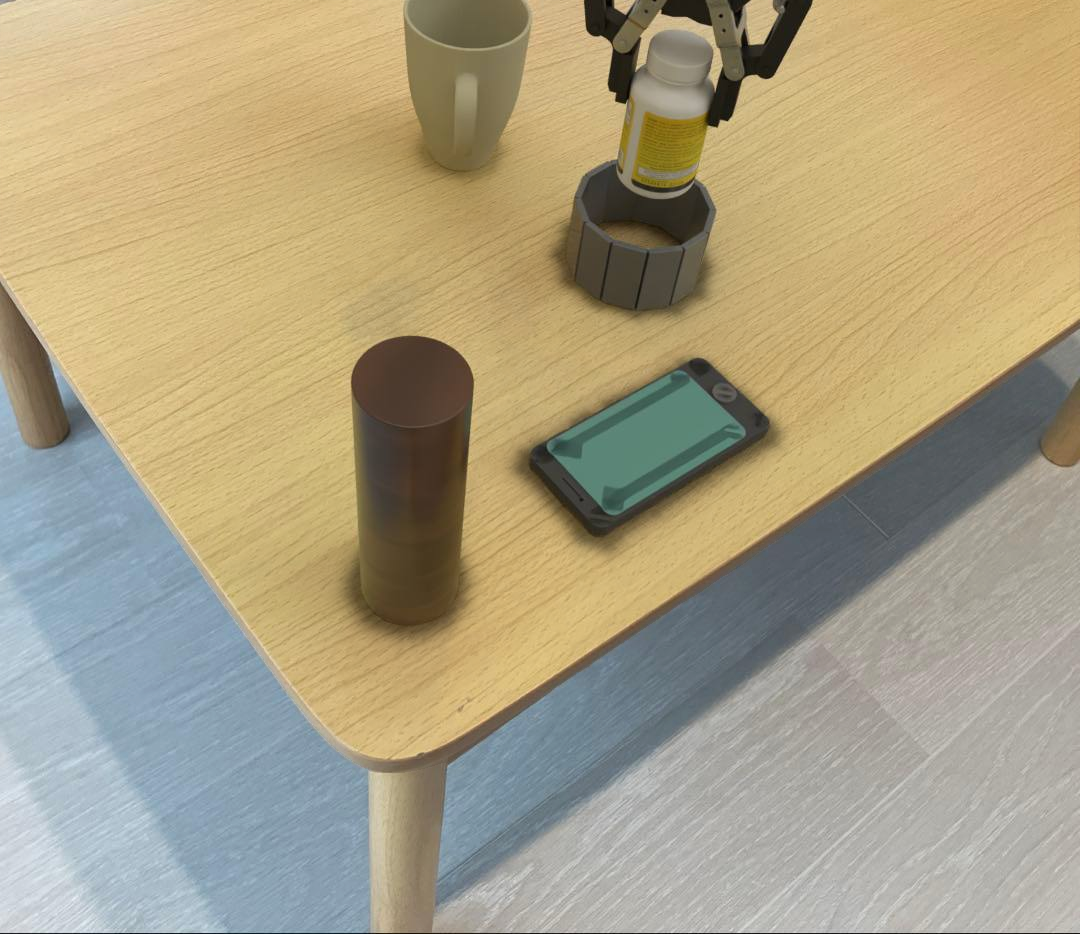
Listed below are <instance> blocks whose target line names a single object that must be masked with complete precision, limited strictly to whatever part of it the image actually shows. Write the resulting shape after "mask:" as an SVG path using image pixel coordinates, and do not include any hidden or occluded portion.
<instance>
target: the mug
mask: <svg viewBox="0 0 1080 934" xmlns="http://www.w3.org/2000/svg"><path fill="white" fill-rule="evenodd" d="M402 8H403V9H402V15H403V27H404V28H403V29H404V43H405V44H404V45H405V57H406V70H407V71H406V72H407V79H408V80H407V81H408V87H409V92H410V98H411V100H412V101H411V102H412V105H413V108H414V111H415V114H416V118H417V120H418V123H419V126H420V129H421V131H422V134H423V137H424V139H425V142H426V146H427V149H428V151H429V154H430V156H431V158H432V159H433V160H434V162H436V163H437V164H438V165H440V166H441V167H443V168H446V169H448V170H450V171H451V170H452V171H456V172H457V171H458V172H468V171H469V172H470V171H475V170H478V169H481V168H483V167H484V166H485V165H487V164H488V163H489V162H490V160H491V158H492V156H493V154H494V153H495V151H496V148H497V146H498V145H499V142H500V140H501V137H502V135H503V134H504V131H505V130H506V127H507V125H508V123H509V121H510V119H511V117H512V115H513V112H514V110H515V107H516V104H517V102H518V98H519V94H520V91H521V85H522V81H523V76H524V71H525V64H526V59H527V54H528V47H529V42H530V35H531V30H532V24H533V13H532V9H531V7H530V5H529V3H528V2H527V1H526V0H404V3H403V7H402Z"/></svg>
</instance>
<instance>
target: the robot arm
mask: <svg viewBox="0 0 1080 934" xmlns="http://www.w3.org/2000/svg"><path fill="white" fill-rule="evenodd" d="M751 1H752V0H634V1H633V3H632V4H631V6H630V7H629V9H628V11H627V12H626V13H624V12H622V11H620V10H619V9H617V8H615V7H616V5H615V0H583V8H584V19H585V20H584V21H585V22H584V23H585V30H586V32H587V33H588V34H589V36H591V37H595V38H598V37H602V38H603V39H606V41H608V43H610V45H611V47H612V52H611V59H610V66H609V71H608V77H607V88H608V91H609V93H614V94H615V98H614V102H615V103H619V104H622V105H627V102H628V96H629V90H630V85H631V81H632V78H633V75H634V74H635V72H636V71H637V66H638V60H639V59H638V58H639V53H640V48H641V43H642V35H643V33H644V31H646V30H647V29H648V28H649V26H650V25H651V24H652V22H653V21H654V19H655V18H656V17H657V16H658V14H659V13H660V15H662V16H668V17H672V18H687V19H690V20H692V21H694V22H696V23H697V24H700V25H703V26H708V27H712V30H713V31H712V32H713V35H714V40H715V46H716V49H719V53H720V58H721V63H722V66H721V68H720V69H721V70H720V72H719V74H718V75H719V76H718V79H717V83H716V87H715V95H714V99H713V103H712V107H711V111H710V115H709V120H708V124H707V125H708V127H712V128H716V129H718V128H719V126H720V123H721V121H724V122H729V121H730V120H731V119H732V117H733V115H734V113H735V109H736V106H737V103H738V99H739V95H740V92H741V87H742V83H743V80H745V79H746V78H747V77H751V76H758V78H760V79H762V80H770V79H772V78H774V76H775V75H776V73H777V71H778V69H779V68H780V65H781V64H782V62H783V60H784V59H785V56H786V54H787V53H788V51H789V49H790V48H791V45H792V43H793V41H794V40H795V37H796V36H797V34H798V32H799V30H800V28H801V27H802V25H803V22H804V21H805V19H806V17H807V16H808V13H809V11H810V10H811V7H812V6H813V2H814V0H772V8H773V10H774V11H775V12H776V14H777V16H776V18H775V20H774V22H773V24H772V26H771V28H770V30H769V32H768V34H767V36H766V38H765V39H764V41H763V43H757V44H756V43H755V44H751V42H750V36H749V31H748V30H749V29H748V22H747V21H748V14H747V7H746V5H747V4H748V3H750V2H751Z"/></svg>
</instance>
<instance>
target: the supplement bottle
mask: <svg viewBox="0 0 1080 934" xmlns="http://www.w3.org/2000/svg"><path fill="white" fill-rule="evenodd" d="M714 55H715V53H714V48H713V45H712V44H711V43H710V41H708V39H706V38H705V37H704V36H702V35H700V34H698V33H695V32H694V31H690V30H686V29H679V28H678V29H677V28H676V29H675V28H674V29H673V28H672V29H665V30H662V31H660V32H659V31H658V32H657V33H656V34H654V35H653V36H652V38H651V39H650V41H649V44H648V49H647V53H646V59H645V63H644V64H642V65H640V67H639V68H637V69H636V71H635V74H634V75H633V78H632V81H631V85H630V90H629V96H628V100H627V103H626V107H625V113H624V119H623V125H622V131H621V136H620V140H619V147H618V153H617V158H616V159H617V166H616V169H617V175H618V177H619V179H620V180H621V182H622V183H623V184H624V185H625V186H626V187H627V188H628V189H630V190H631V191H633V192H635V193H637V194H639V195H641V196H644V197H648V198H652V199H669V198H674V197H677V196H680V195H682V194H683V193H685V192H686V191H687V190H689V188H690V187H691V186H692V184H693V183H694V180H695V179H696V176H697V174H698V169H699V165H700V162H701V161H700V160H701V157H702V152H703V148H704V145H705V139H706V136H707V133H708V128H709V126H708V125H707V124H708V120H709V115H710V111H711V107H712V103H713V99H714V95H715V91H716V87H715V85H714V82H713V80H712V78H711V77H710V76H709V75H710V72H711V70H712V63H713V59H714Z"/></svg>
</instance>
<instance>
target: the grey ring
mask: <svg viewBox="0 0 1080 934" xmlns="http://www.w3.org/2000/svg"><path fill="white" fill-rule="evenodd" d="M616 166H617V158H615V159H610V160H607V161H605V162H602V163H601V164H599V165H598V166H596V167H594V168H593V169H591V170H589V171H587V172H585V173H584V175H582V178H581V179H580V182H579V184H578V186H577V188H576V191H575V193H574V196H573V202H572V203H573V204H572V209H571V217H570V223H569V228H568V234H567V240H566V241H567V242H566V248H565V259H566V262H567V265H568V268H569V271H570V273H571V276H572V278H573V280H575V283H577V284H578V285H579V286H580V287H582V288H583V289H584V290H585V291H586V292H588V293H589V294H590V295H591V296H593V297H594V298H595V299H596V300H598V301H599V300H601V302H602V303H606V304H609V305H612V306H617V307H621V308H624V309H627V310H631V311H634V310H636V311H637V312H638V311H644V310H654V309H664V308H669V306H670V307H671V306H673V305H675V304H676V303H678V302H679V301H681V300H682V299H684V298H685V297H687V296H688V295H690V294H691V293H693V292H694V290H695V288H696V285H697V282H698V278H699V275H700V273H701V272H700V271H701V267H702V265H703V261H704V258H705V254H706V251H707V248H708V247H707V246H708V245H709V240H710V237H711V233H712V229H713V226H714V223H715V219H716V216H717V207H716V205H715V203H714V201H713V199H712V197H711V194H710V193H709V190H708V188H707V186H705V184H703V183H702V182H701V181H700V180H698V178H695V180H694V183H693V184H692V186H691V187H690V188H689V190H687V191H686V192H685V193H683V194H682V195H680V196H677V197H674V198H669V199H652V198H648V197H644V196H641V195H639V194H637V193H635V192H633V191H631V190H630V189H628V188H627V187H626V186H625V185H624V184H623V183H622V182H621V180H620V179H619V177H618V175H617V169H616ZM630 220H631V221H635V222H639V223H643V224H647V225H651V226H653V227H658V228H661V229H663V230H664V231H665V232H667V233H668V234H670V235H671V237H673V238H674V239H676V240H678V242H680V243H682V244H680V245H669V246H661V247H660V246H659V247H651V248H648V247H644V246H643V247H642V246H640V245H636V244H632V243H630V242H626V241H621V240H619V239H614V238H613V237H612V236H611V235H609V234H608V233H606V232H605V231H604V229H603V230H602V228H600V227H599V226H598V225H600V224H602V223H611V222H621V221H630Z"/></svg>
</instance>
